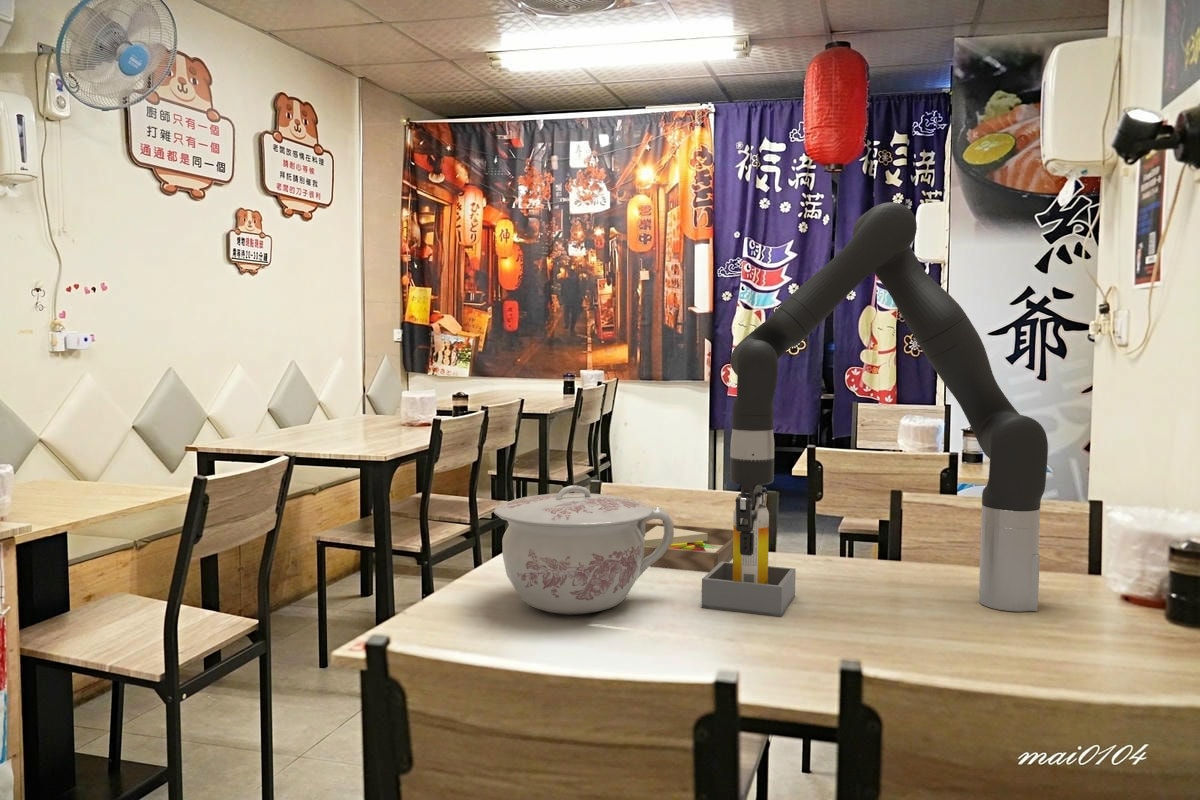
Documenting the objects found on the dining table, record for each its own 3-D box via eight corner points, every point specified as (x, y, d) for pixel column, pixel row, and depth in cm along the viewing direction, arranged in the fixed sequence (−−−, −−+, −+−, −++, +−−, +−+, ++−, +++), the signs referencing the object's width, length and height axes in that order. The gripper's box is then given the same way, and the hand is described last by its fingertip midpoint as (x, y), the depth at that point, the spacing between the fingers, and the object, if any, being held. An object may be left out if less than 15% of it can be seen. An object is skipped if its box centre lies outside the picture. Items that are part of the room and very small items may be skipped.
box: (795, 596, 166) (795, 568, 165) (781, 616, 153) (781, 587, 153) (720, 588, 171) (721, 561, 170) (701, 607, 158) (701, 578, 158)
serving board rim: (744, 548, 204) (745, 530, 203) (717, 573, 181) (718, 553, 181) (641, 539, 212) (641, 522, 212) (603, 562, 190) (603, 543, 190)
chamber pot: (461, 613, 154) (460, 489, 153) (546, 576, 179) (546, 470, 177) (610, 639, 141) (611, 504, 140) (680, 595, 166) (681, 481, 164)
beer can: (766, 586, 165) (767, 503, 164) (769, 596, 158) (770, 509, 158) (731, 585, 165) (732, 502, 164) (733, 595, 159) (734, 508, 158)
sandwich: (599, 556, 197) (600, 533, 197) (668, 544, 209) (668, 522, 209) (646, 570, 185) (647, 545, 185) (716, 557, 197) (716, 534, 197)
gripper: (765, 461, 152) (763, 561, 153) (781, 451, 166) (779, 544, 167) (720, 459, 155) (719, 557, 156) (740, 449, 168) (738, 540, 169)
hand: (750, 550), depth 161 cm, fingers closed on beer can, 6 cm apart
